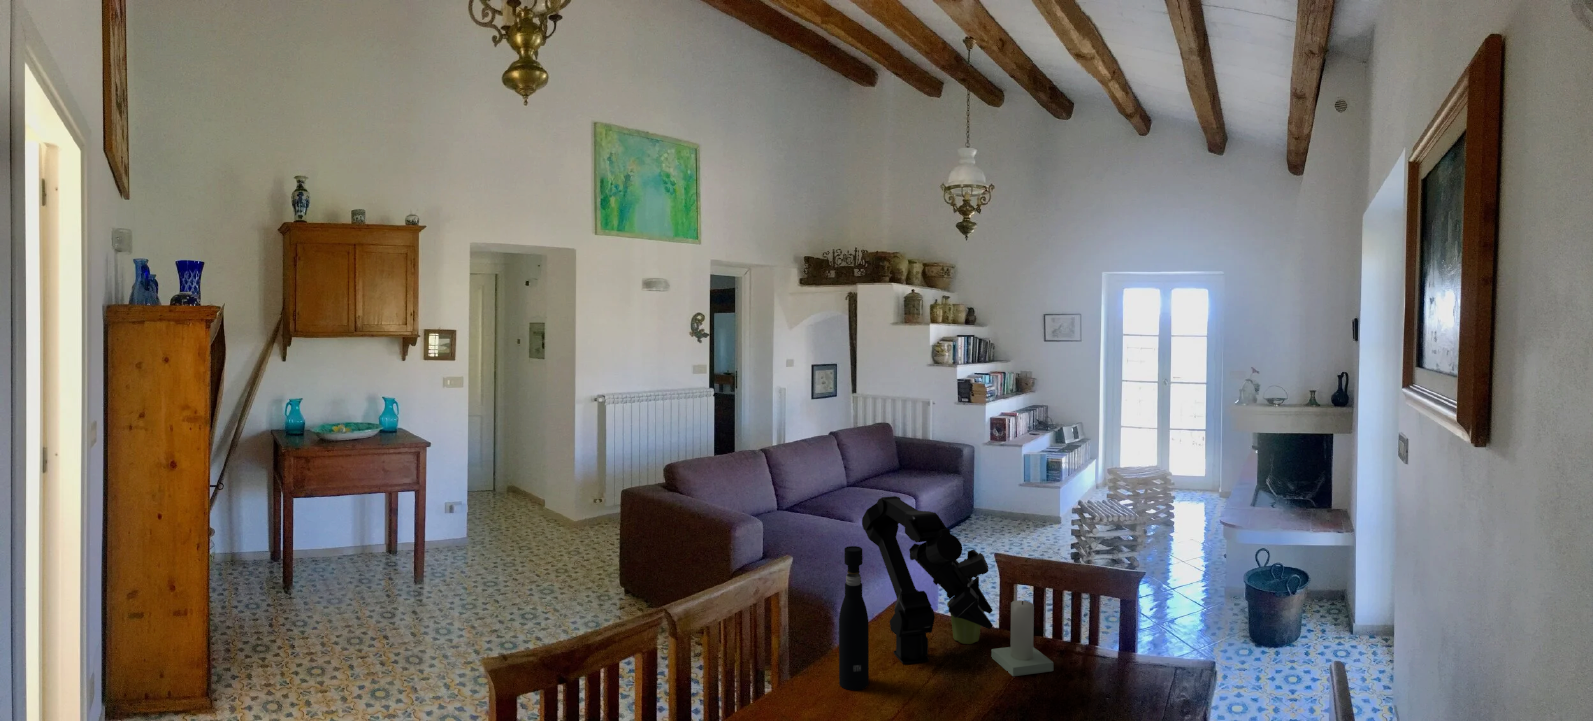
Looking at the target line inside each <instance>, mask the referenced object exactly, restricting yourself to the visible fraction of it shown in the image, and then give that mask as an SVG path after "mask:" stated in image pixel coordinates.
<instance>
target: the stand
mask: <svg viewBox="0 0 1593 721" xmlns="http://www.w3.org/2000/svg"><path fill="white" fill-rule="evenodd" d="M1010 649H1011V646H1008V647H999V648H991V657H992V658H991V657H990V658H991V659H993V660H994V661H995V662H996V664H998V665H999V666H1000V667H1002V669H1004V670H1005V671H1006V672H1007V671H1008V673H1009V675H1011V676H1012V677H1018V676H1025V675H1026V676H1027V675H1033V674H1040V673H1042V674H1043V673H1048V672H1049V673H1050V672H1054V661H1052V660H1051V659H1050V658H1049V657H1047V656H1046V655H1045V654H1044V653H1042V652H1041V651H1039V650H1038V649H1037V648H1036V647H1034V646H1033V658H1032V659H1031V660H1017V659H1015V658H1013V657H1011V655H1010Z"/></svg>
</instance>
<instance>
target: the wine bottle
mask: <svg viewBox="0 0 1593 721" xmlns="http://www.w3.org/2000/svg"><path fill="white" fill-rule="evenodd" d="M844 564H845V565H846V566H847V570H846V571H847V572H846V573H847V574H846V576H845V579H846V580H845V583H844V598H843V600H842V604H841V606H840V610H839V616H838V670H839V671H838V672H839V673H838V681H839V682H838V683H839V686H840V687H841V688H842V689H845V690H848V691H861V690H864V689H866V688H867V687H868V686H869V682H870V681H869V680H870V678H869V676H870V674H869V672H870V671H869V669H870V668H869V667H870V666H869V665H870V664H869V661H870V660H869V658H870V657H869V655H870V654H869V647H870V646H869V643H870V642H869V640H870V639H869V636H870V635H869V632H870V631H869V616H868V611H867V605H866V603H865V600H864V597H863V583H862V577H861V573H860V571H861V570H860V566H861V565H862V564H863V548H862V547H860V546H856V545H851V546H846V547H844Z"/></svg>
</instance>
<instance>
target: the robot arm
mask: <svg viewBox="0 0 1593 721" xmlns="http://www.w3.org/2000/svg"><path fill="white" fill-rule="evenodd" d="M861 525H862V529H863V530H864V532H865V534H866V535H867V538H868V539H869V540H870V541H871V542H872V543H873V544H874V545H876V546H877V547H878V548H879V553H880V555H881V557H882V560H883V563H884V566H885V568H886V571H887V574H888V576H889V580H890V582H891V585H892V588H893V591H894V593H895V596H896V601H895V606H894V609H893V610H894V614H893V615H892V616H891V618H890V620H889V626H890V628H889V629H890V631H891V632H892V633H894V635H895V642H896V643H895V645H896V646H895V650H893V654H894V655H895V656H896V658H897V659H898V660H899V661H900V663H901V664H902V665H903V664H904V665H905V664H906V665H907V664H915V663H923V662H929V660H930V659H929V657H928V654H929V637H928V636H927V634H931V633H933V628H934V622H935V618H936V616H935V610H934V608H933V607H932V604H931V602H930V600H929V598H928V595H927V594H928V593H927V592H926V591H925V590H920V591H919V590H918V589H917V588H916V587H915V586H916V585H915V584H914V581H913V578H912V576H911V573H910V570H909V568H908V565H907V563H906V560H905V558H904V555H903V552H902V550H901V547H900V545H899V541H898V539H897V535H898V530H899V525H901V526H903V527H904V534H905V535H906V536H907V537H908V538H909V539H910V540H911V541H914V542H915V543H913V544H912V545H911V547H910V548H909V550H908V551H909V559H910V560H911V561H914V560H915V562H917V564H919V565H920V567H921V568H922V569H923V570H924V572H926V573H927V574H928V575H929V576H930V577H931V579H933V581H932V583H933V584H934V585H935V586H937V585H939V586H940V587H941V588H942V589H943V591H944V592H946V597H947V598H948V599H949V600H948V602H949V608H948V612H949V613H951V614H952V615H953V616H954V617H955V618H956V617H958V618H962V619H965V620H968V621H970V622H973V623H976V624H978V625H981V627H983V628H986V629H988V630H990V629H992V628H993V627H994V626H993V623H992V621H991V620H990V619H989V617H988V616H987V615H986V613H988V614H991V613H992V612H993V608H992V606H991V605H990V603H989V602H988V600H987V598H986V596H985V595H984V593H983V592H982V590H981V588H980V575H985V574H987V573H988V572H989V565H988V563H987V561H986V558H985V555H984V554H983V553H982V552H977V551H976V550H975V549H971V550H968V551H967V558H964V559H963V560H962V561H960V562H959V561H958V559H959V558H960V557H961V556H962V553H963V544H962V543H961V541H960V540H959V538H958V537H956V535H954V534H952V533H951V530H950V528H947V526H946V524H944V522H943V521H942V519H941V518H940V516H939V515H938V513H936V512H935V511H934V512H933V511H931V510H930V511H929V510H928V511H926V510H918V509H916V508H915V507H914V506H911V505H910V504H908V503H906V502H905V501H903V500H902V499H901V498H900V496H896V495H893V496H892V495H891V496H882V497H881V498H878V500H877V502H876V503H875V504H873V505H872V506H870V507H868V508H867V509H866V510H865V512H864V515H863V516H862V518H861ZM982 610H983V611H984V612H983V611H982ZM951 614H950V615H951Z"/></svg>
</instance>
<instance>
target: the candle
mask: <svg viewBox="0 0 1593 721" xmlns="http://www.w3.org/2000/svg"><path fill="white" fill-rule="evenodd" d="M1034 608H1035V605H1034V603H1032V602H1031V601H1027V600H1018V599H1017V600H1012V602H1010V647H1011V649H1010V655H1011V657H1013V658H1015V659H1017V660H1031V659H1032V658H1033V647H1034V629H1035V628H1034V624H1035V622H1034V620H1035V619H1034V618H1035V609H1034Z"/></svg>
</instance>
